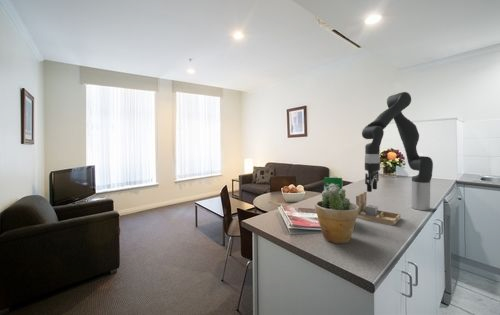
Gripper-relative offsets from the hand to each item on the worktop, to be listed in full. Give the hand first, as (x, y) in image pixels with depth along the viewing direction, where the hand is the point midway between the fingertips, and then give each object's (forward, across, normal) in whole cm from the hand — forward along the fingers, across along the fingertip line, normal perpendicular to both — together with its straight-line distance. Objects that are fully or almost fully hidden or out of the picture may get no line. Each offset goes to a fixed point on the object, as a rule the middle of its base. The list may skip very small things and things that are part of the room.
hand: (372, 190), depth 121 cm
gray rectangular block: (+15, 0, 0) cm, 15 cm away
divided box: (+16, 0, +3) cm, 16 cm away
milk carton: (+16, +18, -14) cm, 28 cm away
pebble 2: (+14, +4, -3) cm, 15 cm away
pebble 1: (+14, -4, -3) cm, 15 cm away
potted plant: (+16, +38, -2) cm, 42 cm away
